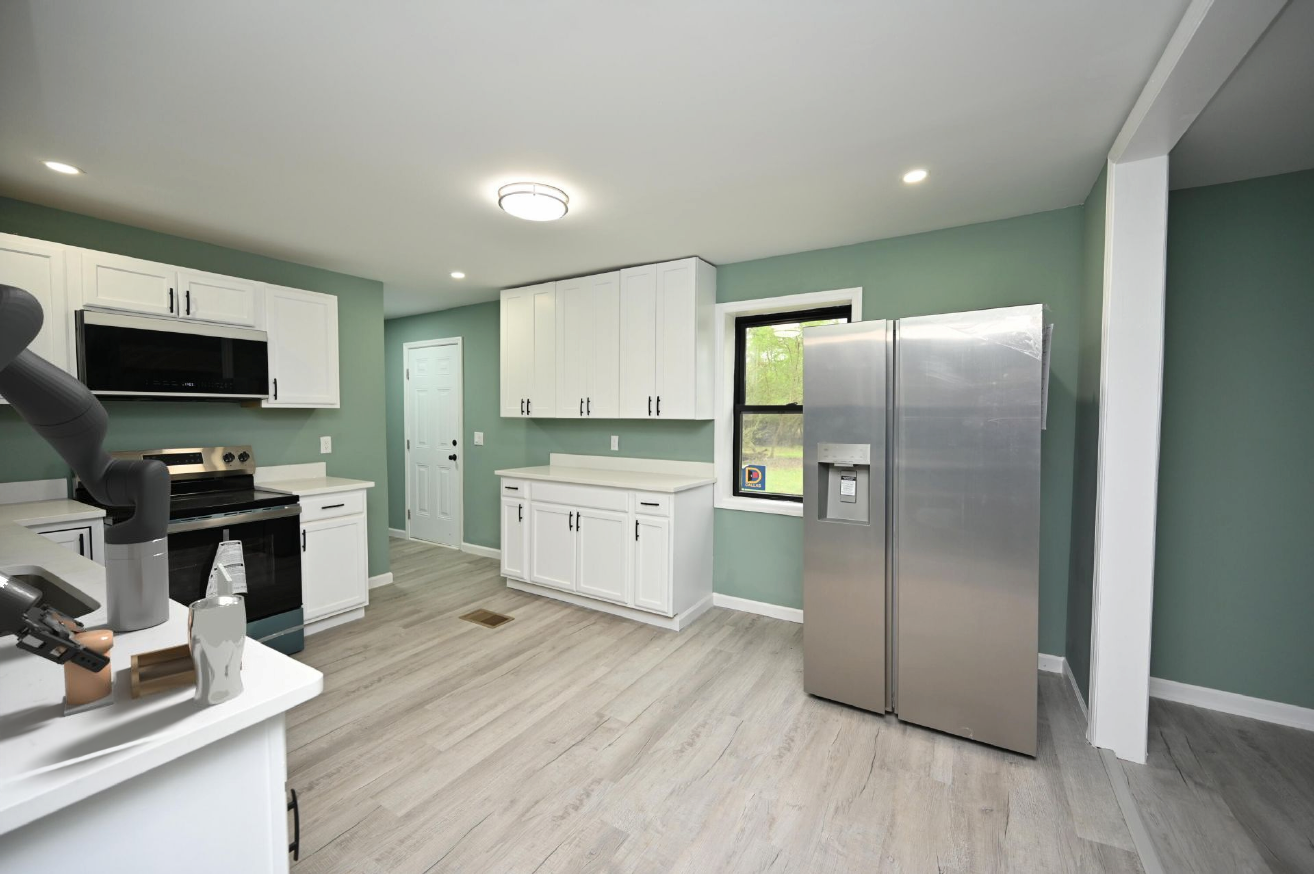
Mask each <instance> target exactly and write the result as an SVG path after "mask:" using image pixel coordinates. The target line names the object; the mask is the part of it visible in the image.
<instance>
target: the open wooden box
mask: <svg viewBox="0 0 1314 874" xmlns="http://www.w3.org/2000/svg"><path fill="white" fill-rule="evenodd" d="M242 661H243V660H241V667H240V671H242V670H243V669H242V668H243V667H242ZM130 673H131V677H130V679H131V697H132V700H135V699H139V698H142V697H143V698H144V697H146V696H151V695H155V694H158V693H162V692H167V691H169V690H170V691H171V690H174V689H177V688H183V687H186V686H189V685H190V686H191V685H194V684H195V685H196V675H195V671H194V667H193V663H192V659H191V655H190V651H189V646H188V642H187V643H184V644H179V645H172V646H169V647H165V648H160V649H156V650H151V651H145V652H141V653H137V654H132V655H130Z"/></svg>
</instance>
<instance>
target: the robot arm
mask: <svg viewBox="0 0 1314 874" xmlns="http://www.w3.org/2000/svg"><path fill="white" fill-rule="evenodd" d="M44 319H45V314H44V309H43V307H42V305H41V303H40V301H39V300H38V298H36V296H34V295H33V294H32V293H30V292H28V291H27V290H25V289H23V288H20V287H17V286H14V285H8V284H5V283H4V284H3V283H0V396H1V397H2V398H3V399H4V400H5V401H6V402H7V403H8V404H9V405H10V406H11V407H12V408H13V409H14V410H15V411H16V412H17V413H18V414H19V416H20V417H21V418H22V419H23V421H25V422H27V424H28V425H29V426H30V427H31V428H32V429H33V430H34V431H35V432H36V433H37V434H38V435H39V436H40V437H42V438H43V439H44V440H45V442H47V443H48V444H49V445H50V446H51V447H52V448H53V449H54V450H55V451H56V453H57V454H58V455H59V456H60V457H61V458H62V459H63V460H64V462H65V463H66V464H68V466H69V467H70V469H72V471H73V472H74V474H75V475H76V476H77V478H78V479H79V481H80V482H81V484H82V485H83V487H84V488H85V489H86V490H87V491H88V493H89V494H90V495H91V497H93V498H94V500H96V501H97V502H98V503H100V504H102V505H104V506H111V507H135V511H134V515H133V516H132V517H131V518H129V519H127V520H126V521H122V522H118V523H116V524H113V525H110V526H108V527H106V529H105V530H104V535H103V537H104V557H105V558H104V560H105V561H104V562H105V563H104V564H105V590H106V591H105V592H106V593H105V594H106V598H105V599H106V621H107V622H106V625H107V626H106V627H107V628H106V630H111V631H113V632H129V631H136V630H142V629H147V628H151V627H155V626H157V625H160V624H162V623H164V622H166V621H168V620H169V619H170V591H169V590H170V589H169V588H170V587H169V586H170V585H169V558H168V557H169V554H168V553H169V551H168V527H169V523H170V519H171V518H170V516H171V515H170V514H171V513H170V512H171V511H170V510H171V508H170V507H171V491H172V488H171V486H172V482H171V481H172V480H171V473H170V469H169V468H168V466H167V464H166V463H164V462H163V461H161V460H158V459H119V458H116V457H114V456H113V455H111V454H110V453H109V452H108V450H107V449H106V448H105V447H104V445H103V444H104V440H105V438H106V435H107V433H108V430H109V424H110V419H109V414H108V412H107V409H105V407H104V406H103V405H102V403H101V402H100V401H99V399H98V398H97V397H96V395H94V393H93V392H92V391H91V390H90V389H89V388H88V387H87V386H86V385H85V384H84V383H83V382H82V381H80V380H79V379H78V378H76V377H74V376H73V375H72V374H70V373H68V372H67V371H65V370H64V369H62V368H60V367H59V366H57V365H55V364H53V363H52V362H50V361H48V360H46V359H45V358H44V357H41V356H39V355H38V354H36V353H35V352H33V351H32V350H30V349H29V348H28V346H30V345H31V344H32V342H33V341H35V339H36V337H37V336H38V335H39V333H40V332H41V329H42V327H43V325H44V322H45V321H44ZM42 597H43V592H42V591H41V590H40V589H38V588H36V587H35V586H34V587H33V586H31V585H30V584H28V583H27V582H24V581H23V580H21V579H18V578H16V577H15V576H12V575H11V574H8V573H6V572H4V571H3V570H0V635H1V634H2V633H4V632H9V633H10V634H12V635H14V636H15V637H17V638H16V641H18V642H17V643H15V646H16V647H17V649H19V650H23V651H25V652H28V653H30V654H33V655H36V656H38V657H41V658H43V659H45V660H47V661H48V660H49V661H50V662H53V663H55V664H57V665H61V666H64V664H65V663H66V662H67V663H69V662H70V661H71V662H72V663H74V664H77V665H79V666H81V667H83V668H85V669H88V670H90V671H92V672H94V673H98V672H100V671H101V670H102V669H103V668H104V667H106V666H107V665H108V664H109V663H110V659H111V657H110V658H109V657H108V656H105V655H103V654H101V653H99V652H97V651H95V650H93V649H91V648H89V647H87V646H85V645H84V644H83V643H80V642H79V641H77V640H76V639H74V635H75V634H79V633H83V632H88V631H89V630H88V629H87V627H85V624H84V623H83V622H81V621H78V620H77V619H75V618H73V617H71V616H70V615H67V614H66V613H64V612H62V611H60V610H58V609H56V608H54V607H52V606H51V605H50V604H45V603H44V604H42V605H41V606H40V607H35V605H36V604H37V603H38V602H39V601H40V599H41V598H42ZM61 647H64V648H67V649H66V650H65V651H64V652H61V651H60V648H61Z"/></svg>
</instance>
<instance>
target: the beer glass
mask: <svg viewBox="0 0 1314 874" xmlns="http://www.w3.org/2000/svg"><path fill="white" fill-rule="evenodd" d="M246 616H247V615H246V607H245V597H244V596H242V595H240V594H233V595H221V596H218V595H215V596H210V597H206V598H202V599H199V600H196V601H194V602H192V603H190V604H189V605H188V617H187V643H188V646H189V651H190V655H191V659H192V663H193V667H194V671H195V675H196V683H195V691H194V696H193V700H192V702H193V704H195V706H202V707H203V706H205V707H206V706H215V705H218V704H219V705H220V704H223V703H226V702H229V701H231V700H233V699H236V698H238V697H239V696H240V695H242V694H243V692H244V690H245V688H244V685H243V682H242V676H241V670H240V667H241V660H242V659H243V654H244V650H245V649H244V648H245V642H246V637H247V617H246ZM242 661H243V660H242Z"/></svg>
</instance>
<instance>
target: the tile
mask: <svg viewBox="0 0 1314 874" xmlns="http://www.w3.org/2000/svg"><path fill="white" fill-rule="evenodd" d="M114 697H115V681H112V692H111V693H110V694H109V695H108V696H106V697H104V698H102V699H100V700H97V701H94V702H91V703H87V704H82V705H67V704H66V703H65V704H64V705H65V706H64V711H63V717H67V716H68V717H69V716H71V715H76V714H79V713H85V712H87V711H91V710H95V709H99V708H103V707H106V706H111V705H114V704H115V701H114V699H115V698H114Z"/></svg>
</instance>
